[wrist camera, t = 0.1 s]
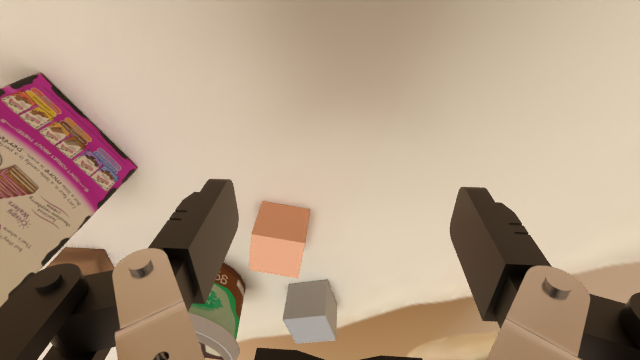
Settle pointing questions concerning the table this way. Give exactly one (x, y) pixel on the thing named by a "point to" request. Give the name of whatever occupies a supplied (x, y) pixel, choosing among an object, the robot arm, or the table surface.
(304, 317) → the slate grey block
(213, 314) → the food container
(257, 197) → the table surface
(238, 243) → the table surface
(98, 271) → the walnut block
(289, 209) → the terracotta block
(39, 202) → the candy bar box
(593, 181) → the table surface
